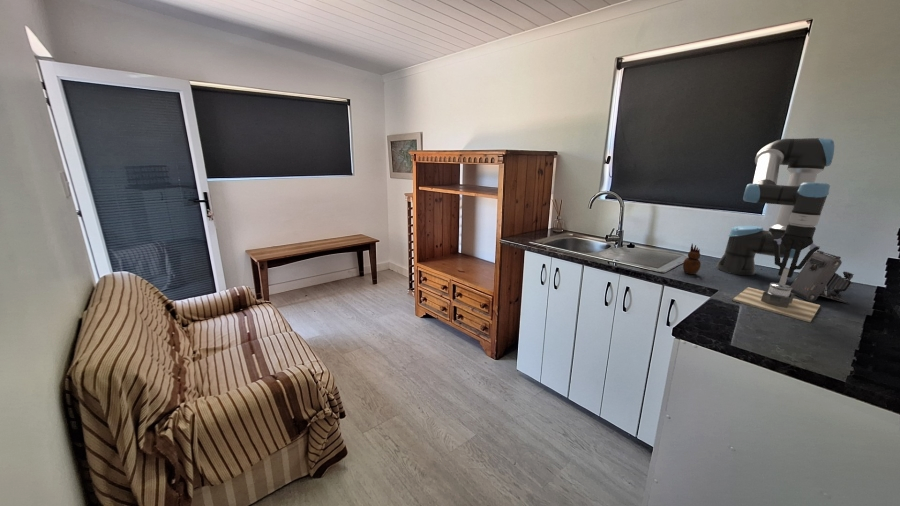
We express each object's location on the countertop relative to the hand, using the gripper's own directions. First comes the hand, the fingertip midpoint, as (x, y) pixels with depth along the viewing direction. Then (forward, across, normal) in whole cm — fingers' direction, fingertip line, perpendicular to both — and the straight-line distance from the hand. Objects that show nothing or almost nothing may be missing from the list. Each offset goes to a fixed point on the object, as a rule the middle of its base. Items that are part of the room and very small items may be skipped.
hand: (782, 284), depth 130 cm
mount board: (+8, 0, 0) cm, 8 cm away
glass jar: (+8, 0, 0) cm, 8 cm away
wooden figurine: (+9, -34, +13) cm, 37 cm away
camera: (+9, +9, +24) cm, 27 cm away
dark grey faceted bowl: (+8, 0, 0) cm, 8 cm away
